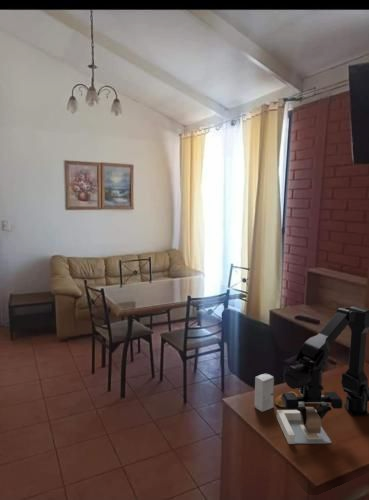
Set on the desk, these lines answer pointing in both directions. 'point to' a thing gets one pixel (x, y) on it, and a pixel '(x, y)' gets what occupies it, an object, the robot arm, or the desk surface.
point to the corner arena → (298, 429)
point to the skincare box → (264, 392)
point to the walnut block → (312, 421)
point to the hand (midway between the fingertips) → (310, 423)
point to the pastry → (279, 400)
